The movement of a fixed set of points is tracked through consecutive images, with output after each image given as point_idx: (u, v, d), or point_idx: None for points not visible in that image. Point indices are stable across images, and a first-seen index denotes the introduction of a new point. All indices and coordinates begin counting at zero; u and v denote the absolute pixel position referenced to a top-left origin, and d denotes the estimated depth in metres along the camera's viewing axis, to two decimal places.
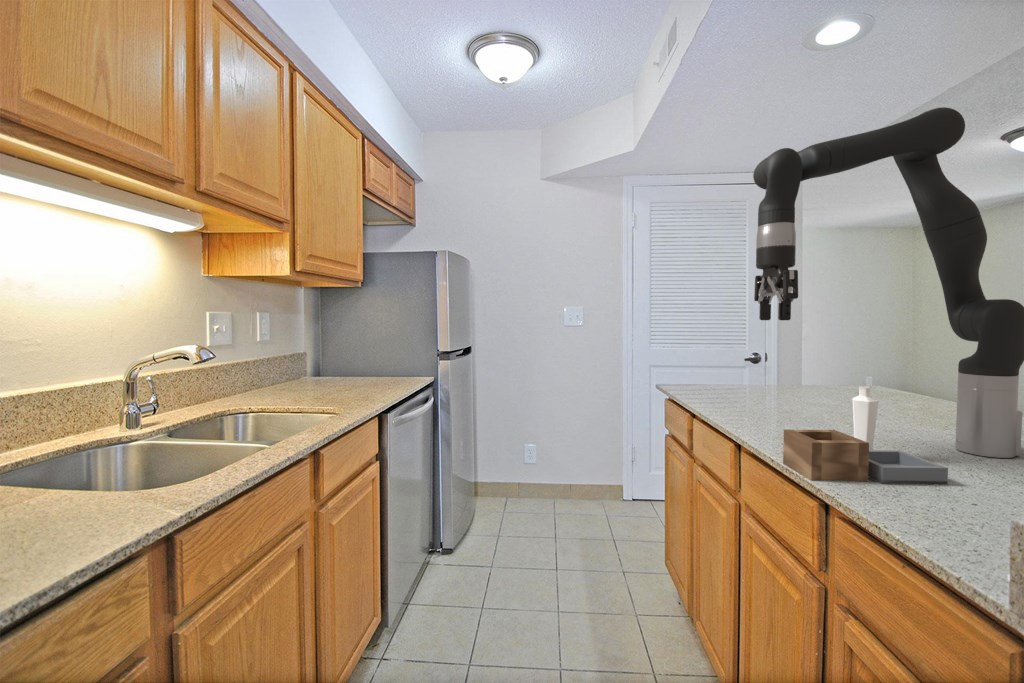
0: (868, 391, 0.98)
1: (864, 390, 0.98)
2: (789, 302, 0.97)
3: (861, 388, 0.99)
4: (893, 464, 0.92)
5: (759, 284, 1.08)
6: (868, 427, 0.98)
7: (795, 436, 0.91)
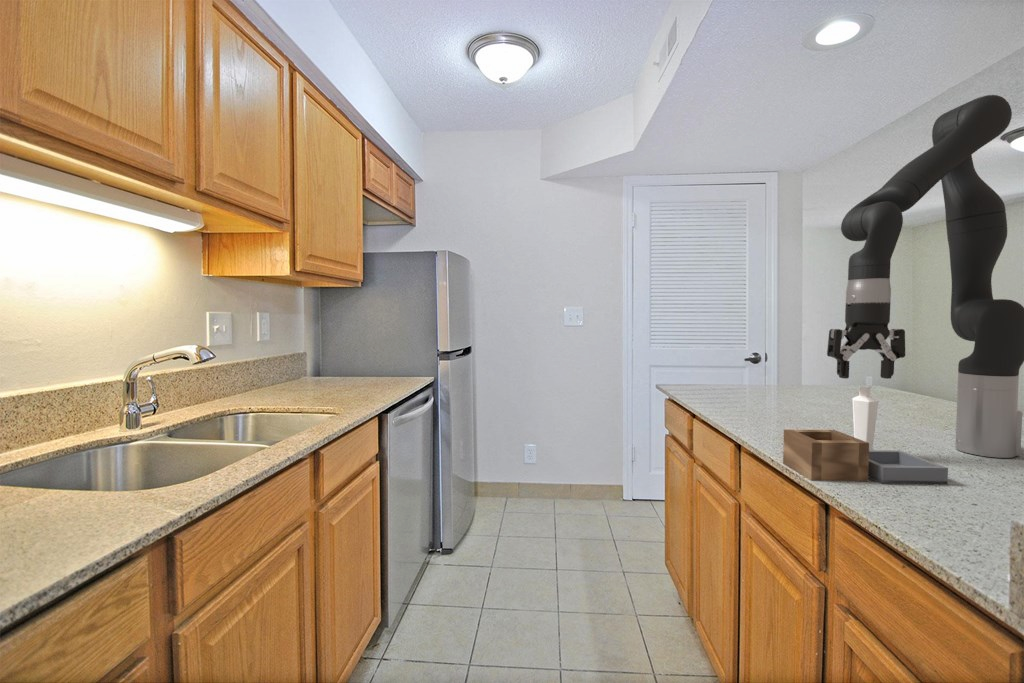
0: (868, 391, 0.98)
1: (864, 390, 0.98)
2: None
3: (861, 388, 0.99)
4: (893, 464, 0.92)
5: None
6: (868, 427, 0.98)
7: (795, 436, 0.91)
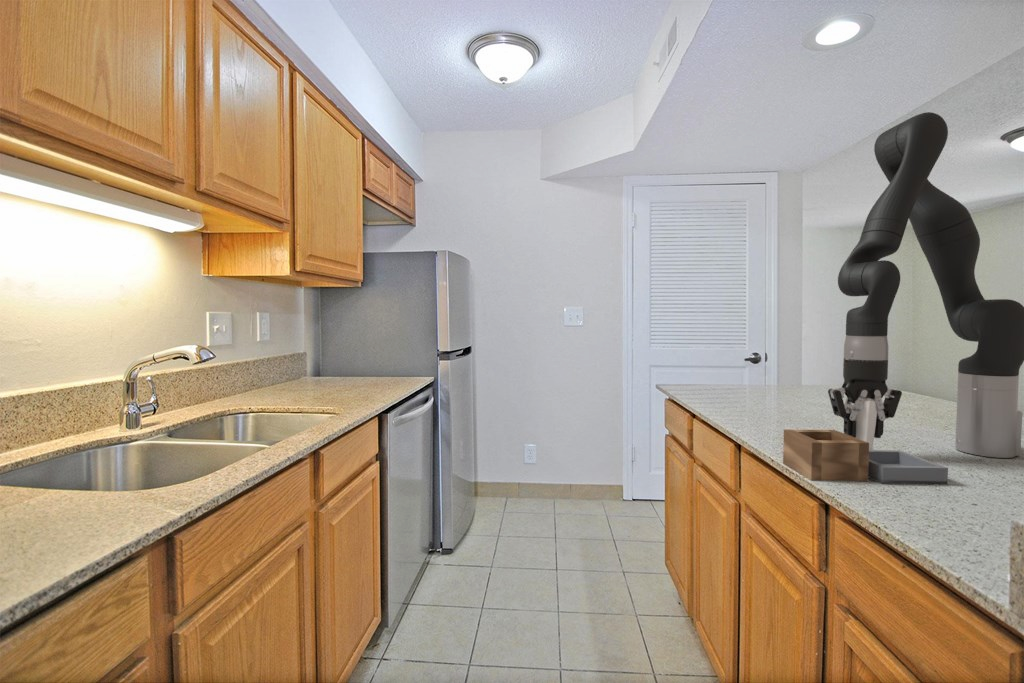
0: None
1: None
2: None
3: None
4: (893, 464, 0.92)
5: None
6: (869, 427, 0.98)
7: (795, 436, 0.91)
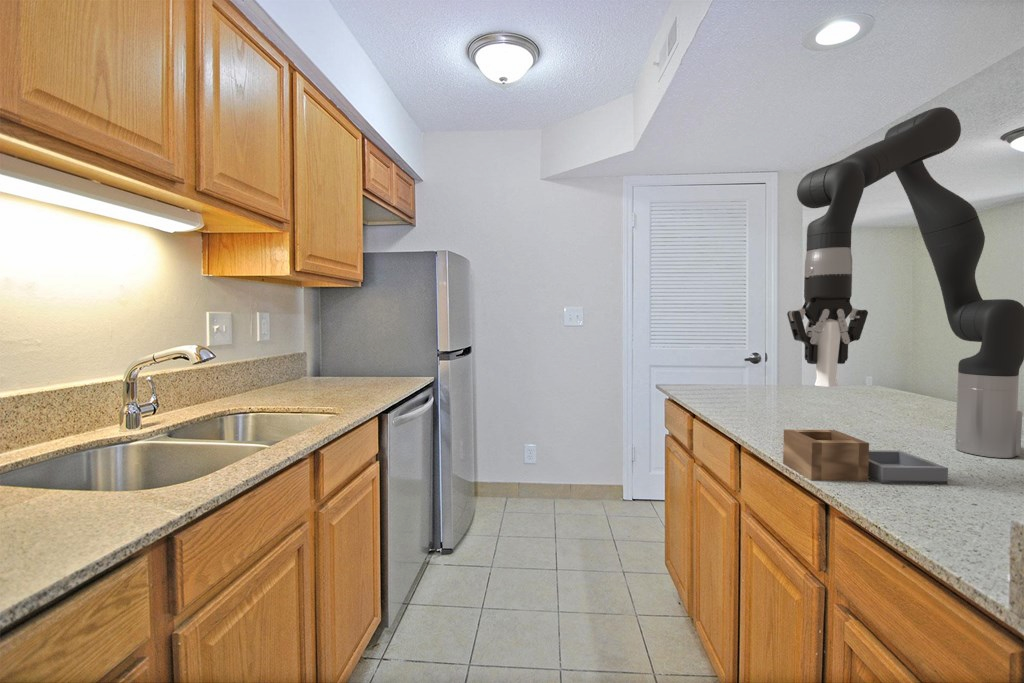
0: None
1: None
2: None
3: None
4: (893, 464, 0.92)
5: None
6: (831, 350, 0.88)
7: (795, 436, 0.91)
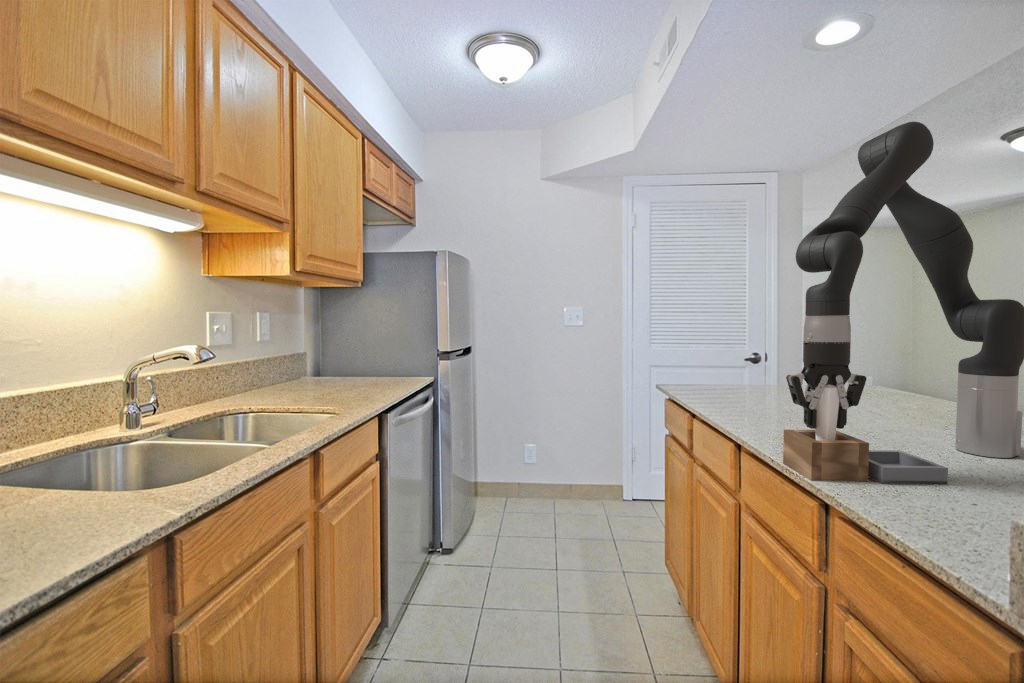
0: None
1: None
2: None
3: None
4: (893, 464, 0.92)
5: None
6: (830, 416, 0.88)
7: (795, 436, 0.91)
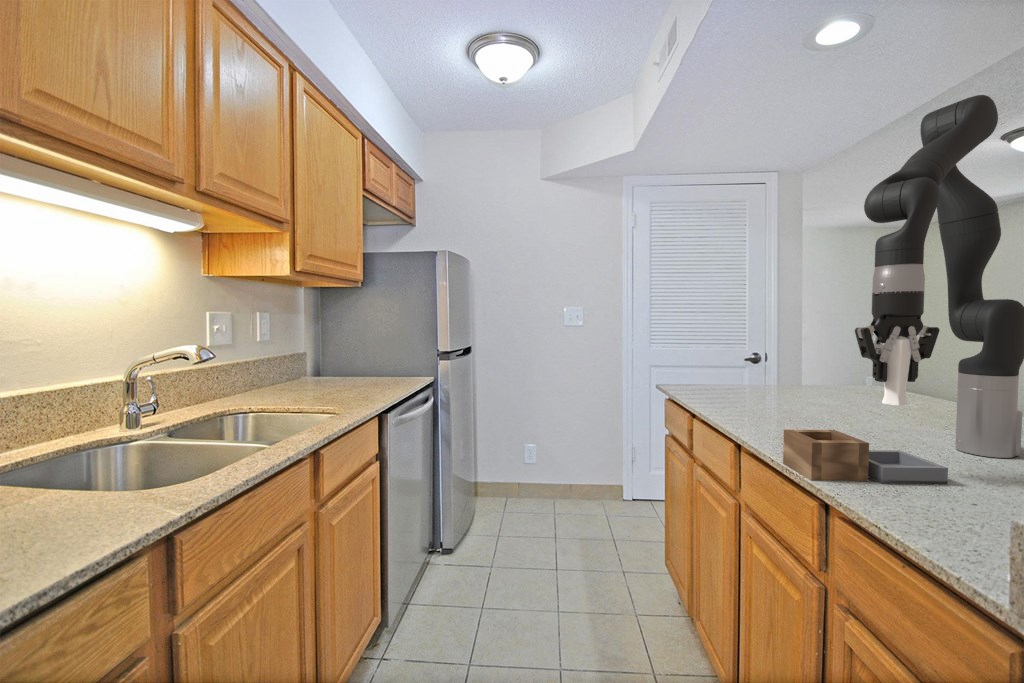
0: None
1: None
2: None
3: None
4: (893, 464, 0.92)
5: None
6: (902, 368, 0.86)
7: (795, 436, 0.91)
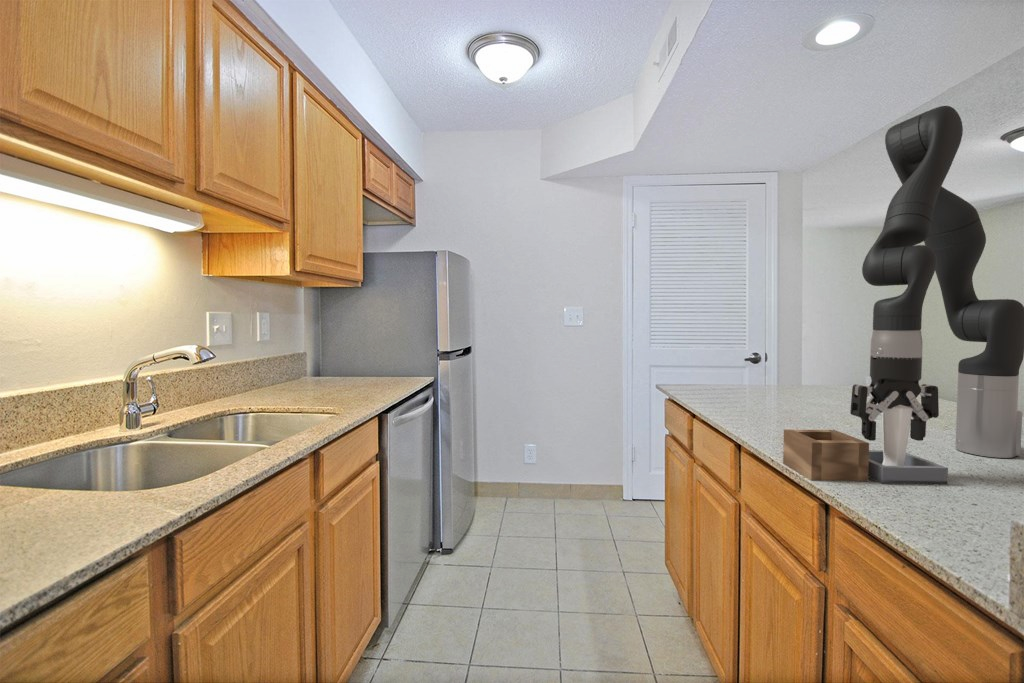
0: None
1: None
2: None
3: None
4: None
5: None
6: (901, 437, 0.87)
7: (795, 436, 0.91)
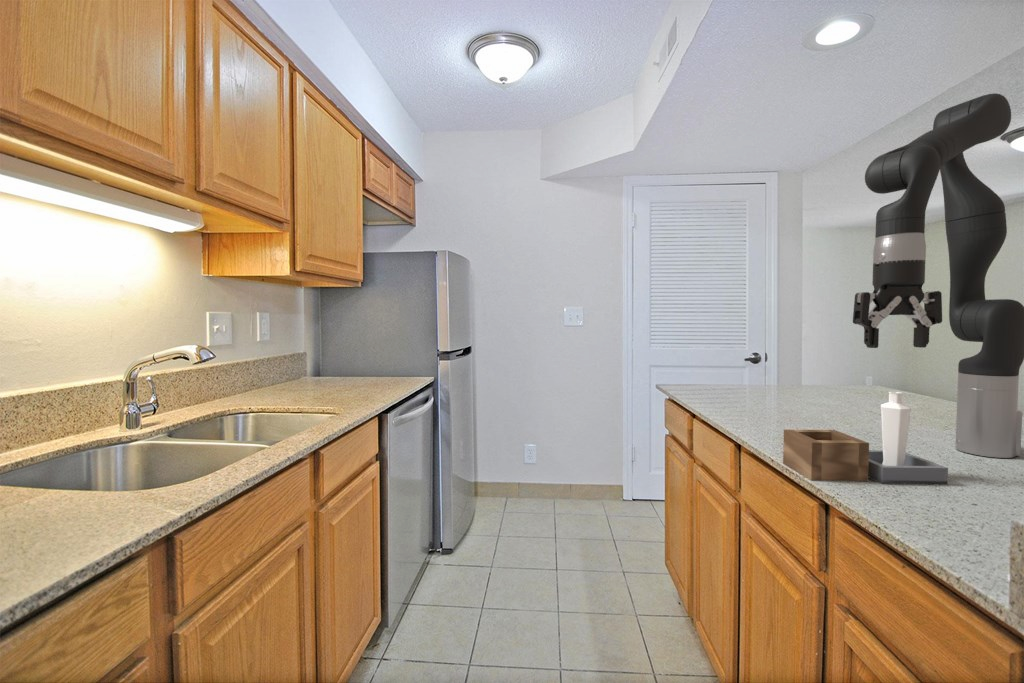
0: (899, 397, 0.87)
1: (895, 395, 0.88)
2: None
3: (891, 394, 0.88)
4: None
5: None
6: (900, 437, 0.87)
7: (795, 436, 0.91)
